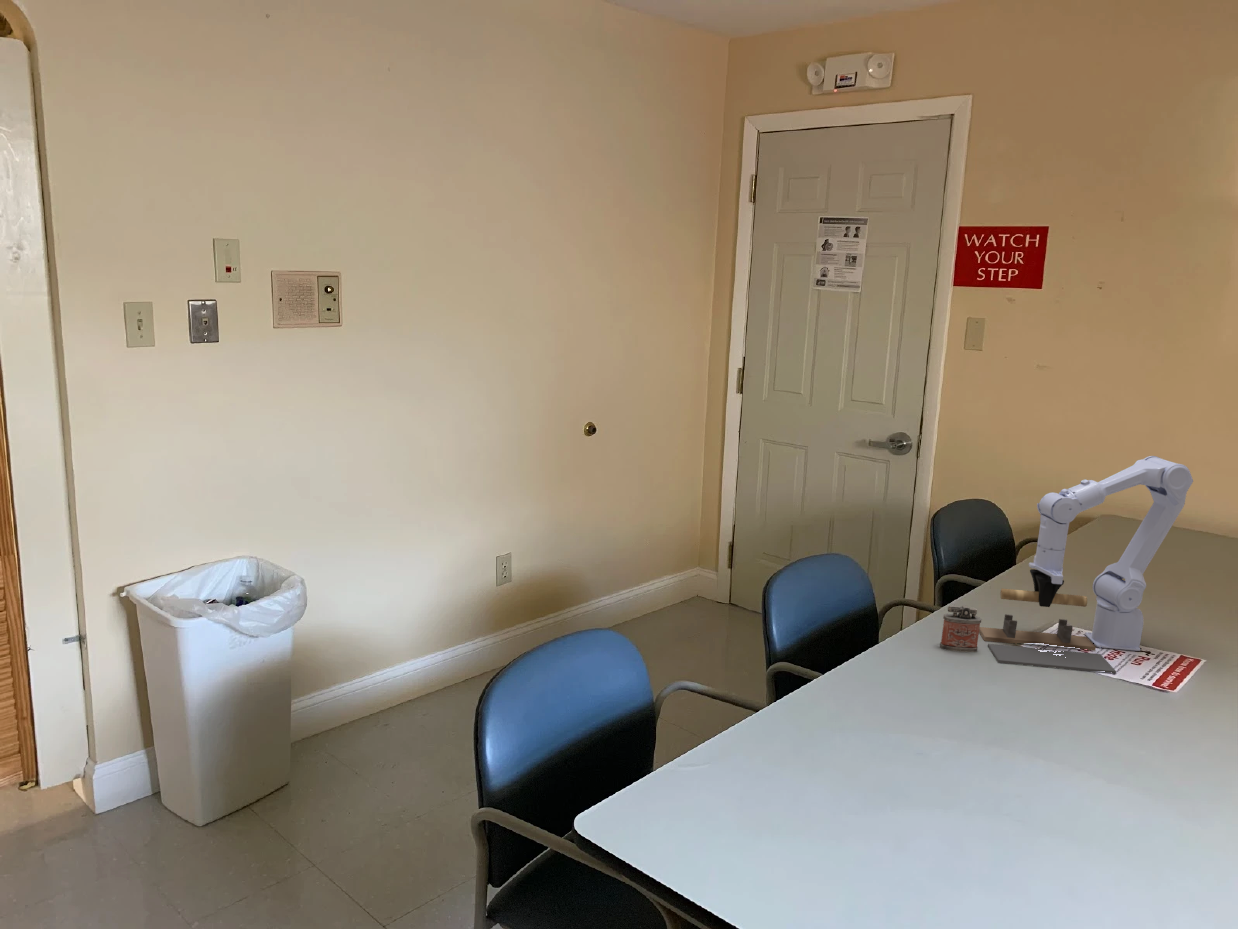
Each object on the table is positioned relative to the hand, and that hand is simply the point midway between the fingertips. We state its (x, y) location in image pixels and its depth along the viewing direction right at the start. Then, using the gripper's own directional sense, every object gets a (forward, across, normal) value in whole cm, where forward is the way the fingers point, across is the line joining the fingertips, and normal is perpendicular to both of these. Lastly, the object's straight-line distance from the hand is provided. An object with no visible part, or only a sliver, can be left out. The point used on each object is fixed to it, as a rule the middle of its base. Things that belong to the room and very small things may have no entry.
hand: (1042, 604), depth 206 cm
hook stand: (+9, -1, 0) cm, 9 cm away
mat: (+9, +9, 0) cm, 13 cm away
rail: (0, 0, 0) cm, 0 cm away
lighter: (+10, +8, -19) cm, 23 cm away
